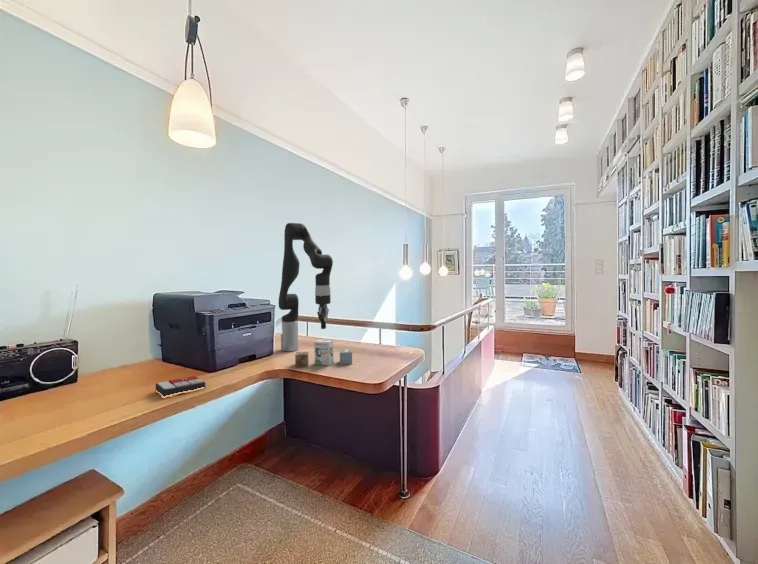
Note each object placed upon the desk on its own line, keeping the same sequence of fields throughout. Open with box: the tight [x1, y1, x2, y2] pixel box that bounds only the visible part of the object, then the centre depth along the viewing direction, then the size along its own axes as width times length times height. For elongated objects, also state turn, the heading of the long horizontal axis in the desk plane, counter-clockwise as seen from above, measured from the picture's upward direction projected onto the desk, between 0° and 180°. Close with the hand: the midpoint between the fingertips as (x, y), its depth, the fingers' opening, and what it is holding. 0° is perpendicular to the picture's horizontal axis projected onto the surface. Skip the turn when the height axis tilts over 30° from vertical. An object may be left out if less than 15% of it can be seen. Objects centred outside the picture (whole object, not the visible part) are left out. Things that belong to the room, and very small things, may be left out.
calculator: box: [155, 375, 206, 396], centre depth 140 cm, size 11×4×15 cm
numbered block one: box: [294, 351, 310, 368], centre depth 174 cm, size 6×6×6 cm
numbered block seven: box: [339, 349, 353, 365], centre depth 178 cm, size 6×6×6 cm
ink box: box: [313, 339, 335, 366], centre depth 176 cm, size 9×5×12 cm, turn 73°
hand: (323, 328), depth 175 cm, fingers closed
